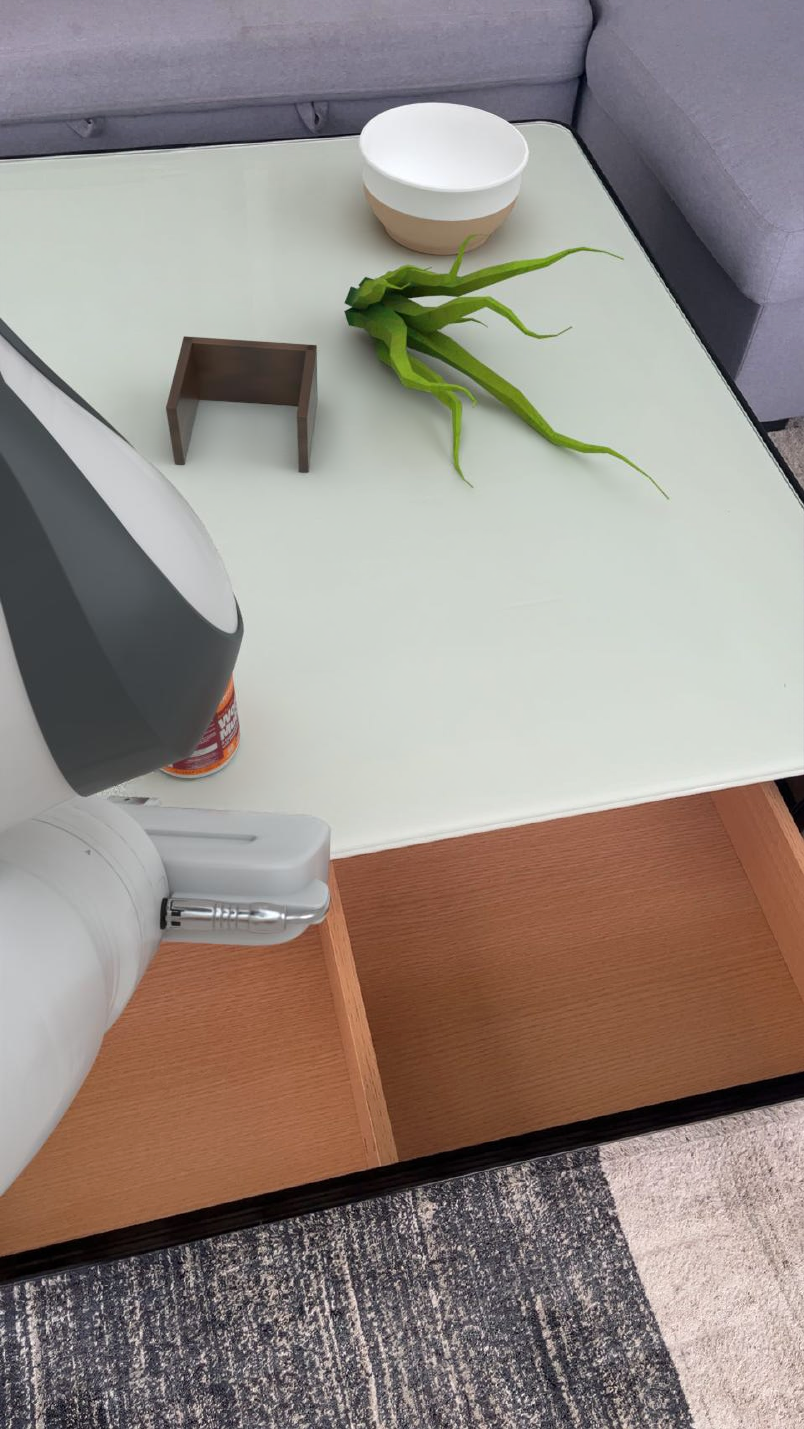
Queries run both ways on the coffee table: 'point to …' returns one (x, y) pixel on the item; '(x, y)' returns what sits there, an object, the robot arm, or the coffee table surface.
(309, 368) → the u-shaped stand
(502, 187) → the bowl
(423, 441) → the coffee table surface
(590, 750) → the coffee table surface
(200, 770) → the pill bottle
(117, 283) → the coffee table surface
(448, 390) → the decorative plant
